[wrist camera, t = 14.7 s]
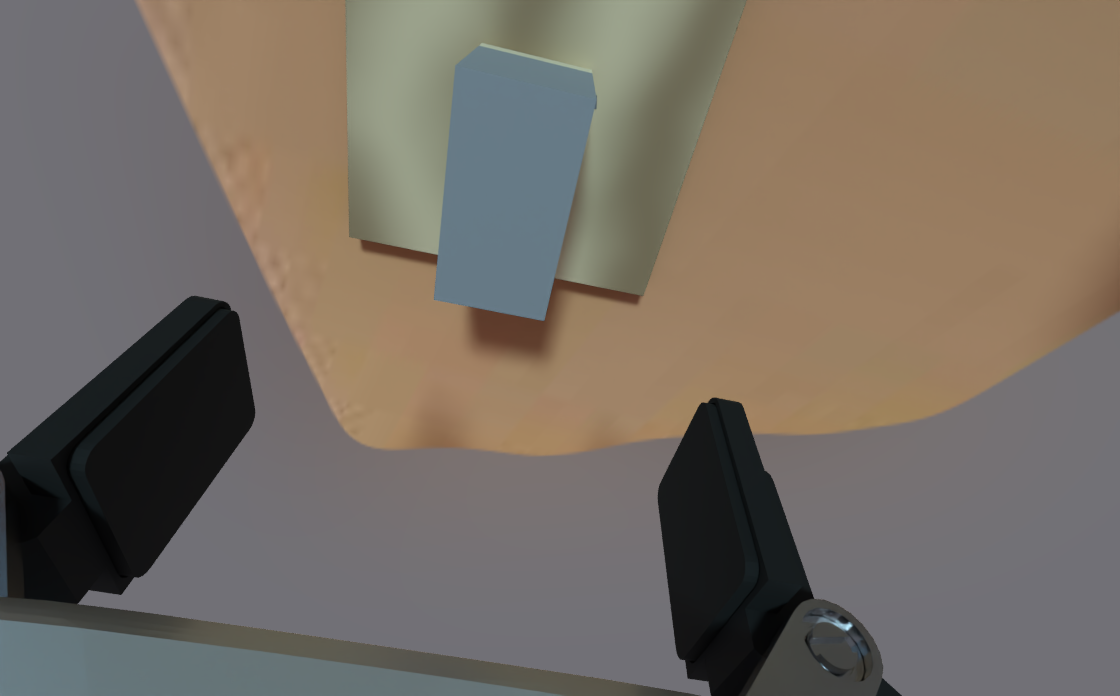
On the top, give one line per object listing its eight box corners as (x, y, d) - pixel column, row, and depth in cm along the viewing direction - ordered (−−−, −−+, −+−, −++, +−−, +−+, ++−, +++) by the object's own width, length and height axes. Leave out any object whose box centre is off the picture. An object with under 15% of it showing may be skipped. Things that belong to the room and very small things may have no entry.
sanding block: (591, 69, 20) (596, 99, 16) (549, 257, 25) (544, 321, 21) (482, 43, 20) (455, 65, 16) (459, 238, 25) (433, 299, 20)
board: (810, -213, 17) (824, -224, 16) (640, 284, 27) (643, 296, 26) (354, -356, 15) (339, -378, 14) (358, 226, 26) (349, 237, 25)
